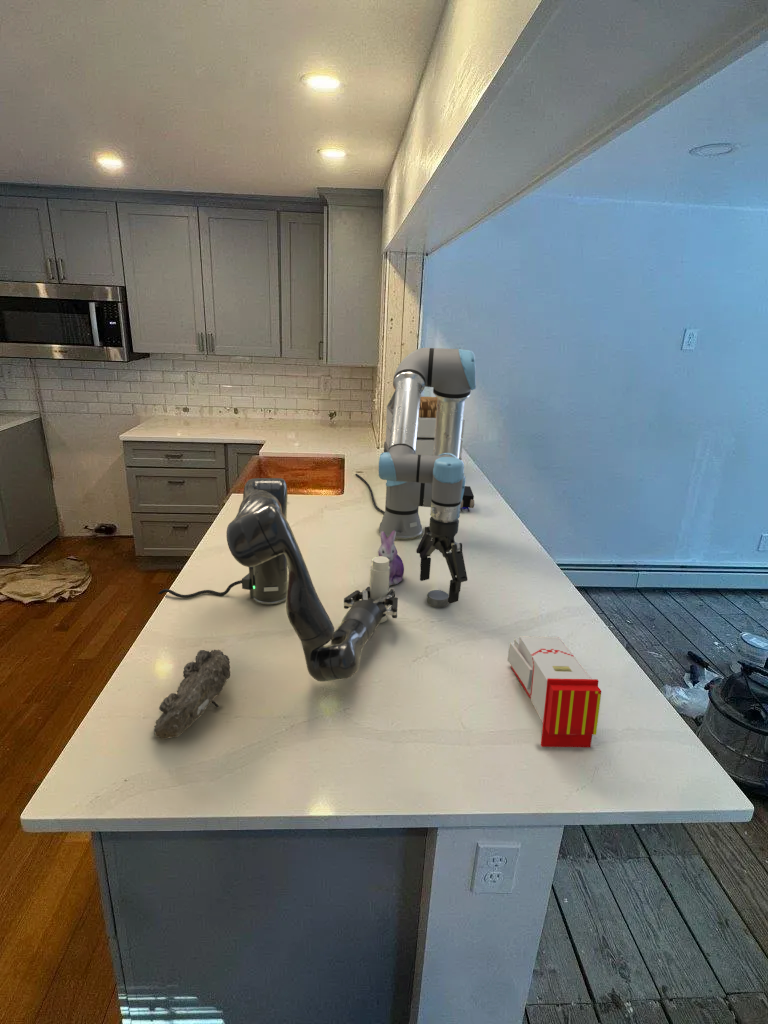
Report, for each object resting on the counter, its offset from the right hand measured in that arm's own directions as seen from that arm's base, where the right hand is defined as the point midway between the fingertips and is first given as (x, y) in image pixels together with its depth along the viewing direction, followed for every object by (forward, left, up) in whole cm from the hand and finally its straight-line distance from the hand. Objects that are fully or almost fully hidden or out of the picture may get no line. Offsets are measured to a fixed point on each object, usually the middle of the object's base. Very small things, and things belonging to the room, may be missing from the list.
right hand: (438, 590), depth 154 cm
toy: (+43, -12, -3) cm, 45 cm away
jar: (-3, -19, -3) cm, 19 cm away
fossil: (+2, -68, -3) cm, 68 cm away
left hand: (-4, -17, +3) cm, 17 cm away
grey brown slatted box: (-95, +85, -3) cm, 128 cm away
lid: (0, 0, -1) cm, 1 cm away
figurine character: (-48, +65, -3) cm, 81 cm away
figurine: (-17, -2, -3) cm, 18 cm away
